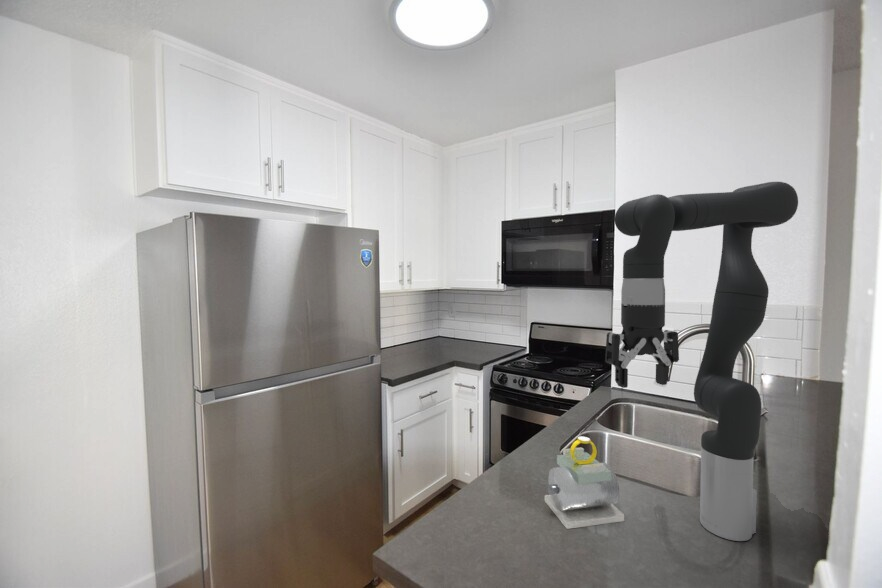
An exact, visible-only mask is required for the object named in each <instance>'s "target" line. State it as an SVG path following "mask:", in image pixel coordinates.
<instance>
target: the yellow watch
mask: <svg viewBox="0 0 882 588" xmlns="http://www.w3.org/2000/svg"><path fill="white" fill-rule="evenodd" d="M580 444H590V445H591V447H592V453H591V454H590V455H591V457H590V458H589V459H588V460H582V461H577V460H576V459H575V457H574V450H575V448H578V447H577V446H579V445H580ZM597 452H598V451H597V447H596V445H595V443H593V441H592V440H591V438H589V437H587V436H584V435H583V436H578V437H577V440H575V441H574V442H572V445H571V446H570V455H571V457H572V459H573V460H574V461H575V462H576V463H577V464H591V463H592V462H593V461H594V459H596V458H597V455H598V453H597Z"/></svg>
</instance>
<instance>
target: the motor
mask: <svg viewBox="0 0 882 588" xmlns="http://www.w3.org/2000/svg"><path fill="white" fill-rule="evenodd" d="M570 448H571V447H570ZM570 448H563V449H562V453H563V454H557V455H556V463H557V465H558V466H559V467H558V466H557V467H551V468H550V469H549V472H548V481H547V482H548V485H547V486H546V488H547V492H548V494H544V502H545V503H546V505H547V506H548V508H550V509H551V511H552V512H553V513H554V515H555V516H556V518H558V520H559V521H560V522H561V524H562V525H563V526H564V527H565V529H566V530H569V529H575V528H576V529H577V528H584V527H591V526H598V525H599V526H600V525H606V524H607V525H608V524H614V523H622V522H625V514H624V513H623V512H622V511H621V510H620V509H619V508H618V507H616V505H615V504H617V503H618V501H620V499H619V498H620V492H621V491H620V484H619V481H618V477H617V476H616V473H615V472H614V469H613V468H612V467H611V466H610V465H609V464H608V463H606V462H600V461H598V460H597V459H596V458H595V459H594V461H593V462H592V463H591V464H577V463H576V462H575V461H574V460H573V459H572V457H571V455H570ZM591 455H592V454H589V453H588V452H587V451H585V448H583V447H576V448H575V450H574V457H575V459H576V460H577V461H582V460H588V459H589V458H590V457H591Z"/></svg>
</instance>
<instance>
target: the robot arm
mask: <svg viewBox="0 0 882 588" xmlns="http://www.w3.org/2000/svg"><path fill="white" fill-rule="evenodd" d="M798 206H799V197H798V193H797V191H796V189H795V188H794V187H793V186H792V185H790V184H789V183H787V182H783V181H768V182H764V183H759V184H753V185H748V186H747V185H746V186H742V187H739V188H736V189H734V190H733V191H730V192H729V191H727V192H726V191H724V192H704V193H701V192H700V193H689V194H687V193H686V194H678V195H673V196H669V197H667V196H666V195H664V194H658V193H657V194H650V195H646V196H644V197H639V198H635V199H632V200H628V201H626V202H625V203H623V204H621V205H620V206H619V207H618V208H617V210H616V212H615V214H614V224H615V227H616V229H618V231H619V232H620V233H622V234H623V235H625V236H629V237H637V236H639V237H638V240H637V244H635V246H633V247H630V248H629V249H627V250H626V251H624V253H623V257H622V258H623V259H622V285H621V291H620V292H621V295H620V296H621V299H620V300H621V302H620V304H621V305H620V306H621V307H620V308H621V310H620V311H621V312H620V323H621V326H622V331H621V333H616V332H615V333H614V332H607V334H606V338H605V339H606V342H605V354H604V355H605V357H604V358H605V360H604V362H606V363H607V364H609V365H612V366H614V369H615V370H614V371H615V372H614V373H615V374H614V375H615V376H614V378H615V379H614V381H615V383H616V385H617V386H618V387H621V388H622V389H623V388H624V389H625V388H628V384H629V383H628V380H629V377H628V375H629V374H628V373H629V370H628V368H627V367H628V366H629V364H630V363H631V361H633V360H634V359H635V358H636V356H643V355H649V356H652V357H653V359H654V360H655V362H656V364H655V383H656V384H657V385H658V384H659V385H662V386H664V385H667V384H668V381H669V380H670V379H669V378H670V375H669V374H670V373H669V372H670V371H669V370H670V366H671V364H673V363H678V362H679V360H680V351H679V349H680V347H679V334H678V332H677V331H674V330H667V329H664V330H663V328H664V327H665V326H666V286H665V279H664V278H665V256H666V252H667V250H668V246H669V243H670V239H671V237H672V236H671V235H672V233H673V232H683V231H693V230H699V229H705V228H712V227H717V226H723V227H722V228H723V229H722V245H721V247H722V248H721V256H720V264H719V270H718V277H717V281H716V287H715V291H714V296H713V303H712V309H711V318H710V324H709V329H708V332H707V338H706V343H705V348H704V352H703V356H702V358H701V363H700V365H699V369H698V371H697V372H698V373H697V375H696V378H695V382H694V387H693V399H694V402H695V404H696V405H697V407H698V408H699V409H700V410H702V412H704V413H706V414H709V415H711V416H713V417H716V418H718V419H717V420H718V421H717V427H716V428H717V429H716V430H714V429H713V430H706V431H704V432H703V433H702V434H701V438H700V439H701V440H700V441H701V443H700V445H701V446H700V495H699V496H700V497H699V498H700V499H699V500H700V503H699V504H700V505H699V522H700V524H701V526H703V529H705V530H707V531H708V532H709V533H712V534H713V535H715V536H718V537H720V538H723V539H726V540H730V541H736V542H745V541H749V540H751V538H752V536H753V535H755V534H754V533H757V498H758V497H757V493H758V491H757V490H756V488H754V455H755V449H756V448H757V447H756V446H757V445H758V443H759V440H760V439H759V438H760V427H761V417H762V399H761V395H760V393H759V390H758V389H757V388H756V387H755V386H754V385H753V384H751V383H749V382H747V381H744V380H741V379H737V378H734V377H733V376H734V368H735V363H736V360H737V357H738V355H739V353H740V351H741V349H742V348H743V347H744V346H745V345H746V344H747V343H748V341H749V340H750V339H751V338H752V337H753V336H754V335H755V333H756V332H758V329H760V327H761V325H762V324H763V322H764V319H765V315H766V311H767V306H768V299H769V294H770V293H769V290H770V289H769V286H768V285H769V284H768V283H767V280H766V279H765V276H764V274H763V272H762V270H761V269H760V267H759V265H758V264H757V262H756V260H755V258H754V255H753V250H752V242H753V241H752V239H753V238H752V237H753V232H754V229H758V228H759V229H760V228H769V227H775V226H779V225H782V224H785V223H787V222H788V221H790V220H791V219H792V218H793V217H794V215H796V213H797V211H798ZM662 342H663V346H662ZM621 344H622V345H621ZM620 345H621V347H620Z"/></svg>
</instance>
